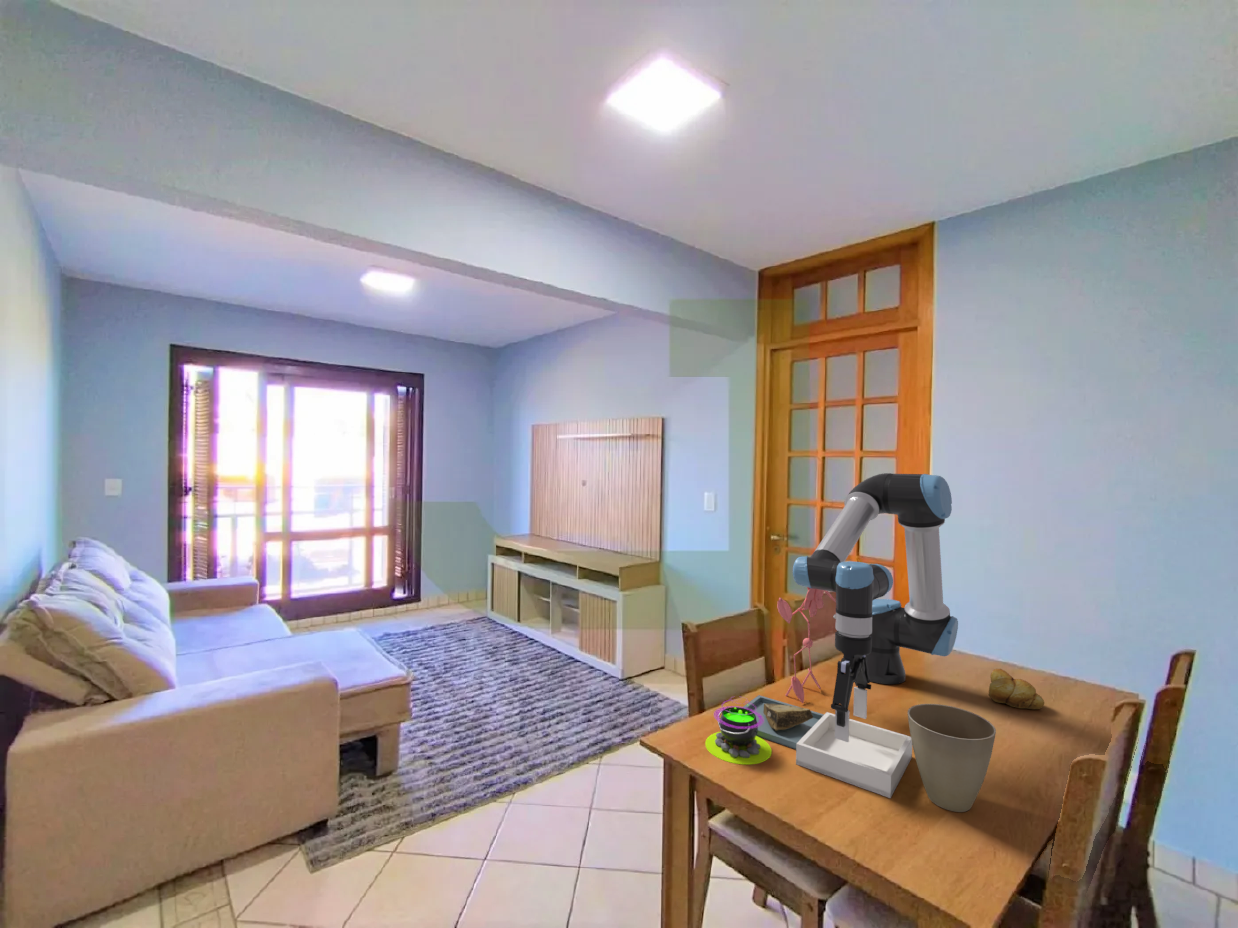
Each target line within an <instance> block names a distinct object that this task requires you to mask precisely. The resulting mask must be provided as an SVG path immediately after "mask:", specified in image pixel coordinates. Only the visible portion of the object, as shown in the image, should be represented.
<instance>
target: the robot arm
mask: <svg viewBox="0 0 1238 928" xmlns="http://www.w3.org/2000/svg"><path fill="white" fill-rule="evenodd" d="M952 504H953V501H952V494H951V489H950V485H949V484H948V482H947V480H946V479H945V478H944V477H942V476H941V475H937V474H936V475H935V474H934V475H933V474H929V473H890V472H889V473H888V472H887V473H884V472H883V473H878V474H876V475H872V476H870V477H868V478H866V479H864V480H862V481H861V482H859V483H858V484H857V485H856V486H854V487H853V488H852V489H851V490H850V491H849V492H848V494H847V496H846V497H845V498H844V506H843V508H842V510H841V511H840V512H839V514H838V515H837V517H836V519H834V522H833V523H832V524H831V526H830V527H829V528H828V530H827V532H826V533H825V535H824V537H823V538H822V540H821V541H820V542H819V544H818V545H817V547H816V548H815V550H814V551H813V552H812V554H811V556H808V555H806V556H804V555H803V556H799V557H797V558H796V559H795V561H794V562H793V566H792V576H793V580H794V582H795V583H796V585H799V586H801V587H804V588H807V587H809V588H811V589H812V588H813V589H819V590H825V591H828V592H832V593H835V600H836V602H835V614H833V617H832V618H833V619H834V620H835V626H834V627H835V628H834V629H835V630H836V631H835V632H834V648H835V649H836V650H837V651H838V652H840V653H841V654H842V655H843V656H842V657H841V660H837V663H836V664H837V666H836V667H837V669H836V675H835V676H836V677H835V684H834V690H833V697H832V703H831V704H830V709H832V710H834V711H835V712H834V713H835V738H836V739H839V740H842V741H845V742H849V719H850V711H851V710H849V705H850V701H851V697H852V692H853V717H858V718H860V719H863V720H866V719H867V716H868V715H867V713H868V712H867V711H868V709H867V708H868V690H869V691H871V689H872V684H870V682H872V683H875V684H883V685H898V684H902V683H904V682H905V681H906V670H905V667H904V663H903V660H902V657H901V653H900V652H901V651H900V650H901V648H904V649H908V650H913V651H917V652H922V653H926V654H930V655H931V656H933V655H934V656H940V657H948V656H949V655H950V654H951V653H952V651H953V650H954V646H955V643H956V640H957V635H958V629H959V621H958V618H957V617H955V616H951V612H950V611H951V610H950V608H949V606H948V605H947V604H945V603H944V595H943V594H944V593H943V576H942V575H943V574H942V573H943V572H942V558H941V557H942V556H941V541H940V537H941V536H940V527H942V526H943V525H944V524H945V523H946V522H945V521H946V519H948V518H949V517H950V516H951V513H952ZM880 514H881V515H882V514H888V515H897V522H898V524H899V525H900V526H902V527H903V528H904V538H905V539H904V541H905V542H904V543H905V553H906V554H905V555H906V567H907V569H906V570H907V582H908V595H909V596H908V597H909V601H908V602H907V603H906V604H905V606H904V607H902V603H901V601H900V600H896V599H890V598H889V599H888V598H882V597H884V596H885V595H886V594H888V592H890V591H891V589H892V588H893V585H894V578H893V575H892V572H891V571H890V570H889V569H888V568H887V567H885V566H884V565H882V564H880V563H879V564H878V563H866V562H862V561H861V562H860V561H851V560H849V561H846V560H847V558H848V557H849V555H850V553H851V552H852V550H853V548H854V547H856V546H855V545H856V544H857V542H858V541H859V539H860V537H861V536H862V535H863V534H862V533H864V531H865V529H866V528H867V526H868V524H869V523H870V521H873V520H875V519H876V518H877V517H878V515H880ZM825 591H824V592H825ZM854 684H855V686H854Z"/></svg>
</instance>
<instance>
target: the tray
mask: <svg viewBox="0 0 1238 928" xmlns="http://www.w3.org/2000/svg"><path fill="white" fill-rule="evenodd" d="M749 702H750V703H752V704H750V703H749ZM749 702H747V703H745V704H744V706H741V707H742V708H743V707H744V708H747V710H756V709H755V708H757V710H756V711H757V712H758V714H759V713H760V714H759V716H761V717H763V718H762V719H763V720H764V721H762V723H761V724H760V723H758V722H759V719H760V717H758V716H757V715H756V714H757V713H756V714H755V713H754V714H755V716H756V720H757V723H758V724H760V726H759V727H758V733H757V735H756V736H758V737H760V738H762V739H763V740H765V741H770V742H772V743H775V744H778V745H782V746H784V747H787V748H790V749H793V750H795V751H796V743H797V742H798V741H799V740H800V739H801V738H802V737H803V736H804V735H805V734H806V733H807V732H808V731H809V730H810V729H811V728H812V727H813V726H814V725H815V724H816V723H817V722H818V721H819V720H820V719H821V718H822V716H823V715H824V714H825V713H820V712H818V711H814V710H811V709H810V711H811V713H812V715H813V718H812V719H810V720H808V721H806V722H804V723H801V724H799V725H795V726H793V727H791V728H788V729H785V730H777V731H775V729H774V728H771V727H770V725H769V723H768V720H767V719H766V715H764V713H763V711H764V704H779V705H789V706H795V707H799V708H802V707H800V706H798V705H794V704H791V703H787V702H783V701H781V700H778V699H777V700H776V699H773V698H771V697H770V698H769V697H767V696H764V695H760V694H758V695H757V696H756V697H754V698H753V699H752V700H750V701H749ZM747 704H748V706H747ZM753 705H755V706H756V707H755V706H753ZM752 712H753V711H752ZM760 721H761V720H760ZM763 722H764V723H763Z"/></svg>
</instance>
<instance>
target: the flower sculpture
mask: <svg viewBox="0 0 1238 928" xmlns="http://www.w3.org/2000/svg"><path fill="white" fill-rule="evenodd" d="M806 589H807V592H806V595H805V599H804V601H803V602H802V604H801V605H800V607H798V608H797V609H796V610H795V611H794V612H793V610H792V608H791V606H790V604H789V603H788V602H787V601H786V600H784V599H783V598H782V597H779V598H778V600H777V604H776V605H777V607H776V608H777V611H778V613H779V615H780V617H782V619H783V620H785V622H786V623H787V624H791V621H792V620H793V619H792V617H793V616H794V615H795V614H797V613H798V612H799V613H800V614H801V615H802V616H803V617H802V618H804V620H805V621H806V623H807V634H808V635H807V636H808V637H805V638H804V639H803V640H802V646H803V647H802V648H800V650H798V651H797V652H796V653H794V654H793V667H794V668H793V669H794V676H792V677H791V678H790V679H791V681H790V682H791V684H790V686H789V688H788V690H787V692H786V693H785V697H788V696H789V694H790V692H791V690H793V692H794V695H795V696H796V697H797V699H798V700H799V701H800V702H801V704H804V701H805V691H804V685H805V684H806V682H807V680H808V678H809V677H811V678H812V680H813V682H814V683H815V685H816V686H817V687H818V689H819V690H822V688H821V686H820V684H819V682H818V680H817V678H816V677H815V675H814V674H813V670H812V661H811V660H812V659H811V658H812V657H811V647H813V644H814V642H813V640H812V639H811V622H810V621H809V619H808V617H807V616H806V615H805V614H804V612H803V611H807V610H808V612H809V617H810V618H813V617H814V616H816V615H817V612H818V609H819V610H820V609H822V608H823V607H824V601H823V595H824V593H825V594H826V595H827V596H828V597H829V598H830V599H831V600H832V601H833V602H835V603H836V598H835V597H833V595H832V594H831V593H830V591H825V590H819V589H813V588H812V589H811V588H809V587H806ZM805 648H806V649H807V650H808V658H809V668H807V670H808V672H807V674H806V675H805V678H804V679H803V682H802V683H801V681H800V680H799V677H797V669H796V656H797V655H798V654H799V653H800V652H802V651H803V650H805ZM829 710H830V711H832V710H833V709H832V708H829Z"/></svg>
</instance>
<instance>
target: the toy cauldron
mask: <svg viewBox="0 0 1238 928" xmlns="http://www.w3.org/2000/svg"><path fill="white" fill-rule="evenodd" d="M732 698H734V696H731V697H729V699H728V700H725V701H723V702H722V704H721V707H718V708H717V709H715V711H713V717H714V719H715V720H716V721H717V723H718V726H719V730H720V731H717V732H714V733H712V734H709V736H708V737H707V738H706V739H705V742H704V743H705V745H704V746H705V749H706V750H707V751H708V752H709V753H710V754H711V755H712V756H713V757H715V758H717V759H718V760H722V761H724V762H726V763H729V764H734V765H743V766H745V765H746V766H747V765H750V766H751V765H757V764H761V763H764V762H765V761H768V759H770V758H771V756H772V751H773V750H772V748H771V746H770V745H769V743H768V742H767V740H766V739H764V738H761V737H758V736H756V735H757V733H758V727H759V726H760V724H761V723H762V721H764V720H763V719H762V718H763V717H761V716H759V714H760V713H759V714H758V712H757V711H756V710H757V708H755V709H756V710H747V708H744V706H738V705H741V703H740V702H736V701H734V704H737V706H736V705H735V706H734V705H731V706H730V705H729V706H727V705H726V706H724V704H725V703H726V702H729V701H731V702H732V703H733V699H732ZM740 698H744V699H745V697H742V696H740ZM748 703H750V701H749V700H748V699H747V700H746V704H747V706H748ZM750 704H752V703H750ZM753 706H755V705H753ZM742 707H743V708H742ZM755 707H756V706H755ZM752 711H753V712H752ZM754 713H755V714H756V713H757V714H756V715H757V716H758V717H760V719H759V722H758V723H760V724H758V723H757V720H756V716H755V714H754ZM760 720H761V721H760ZM763 723H764V722H763Z"/></svg>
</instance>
